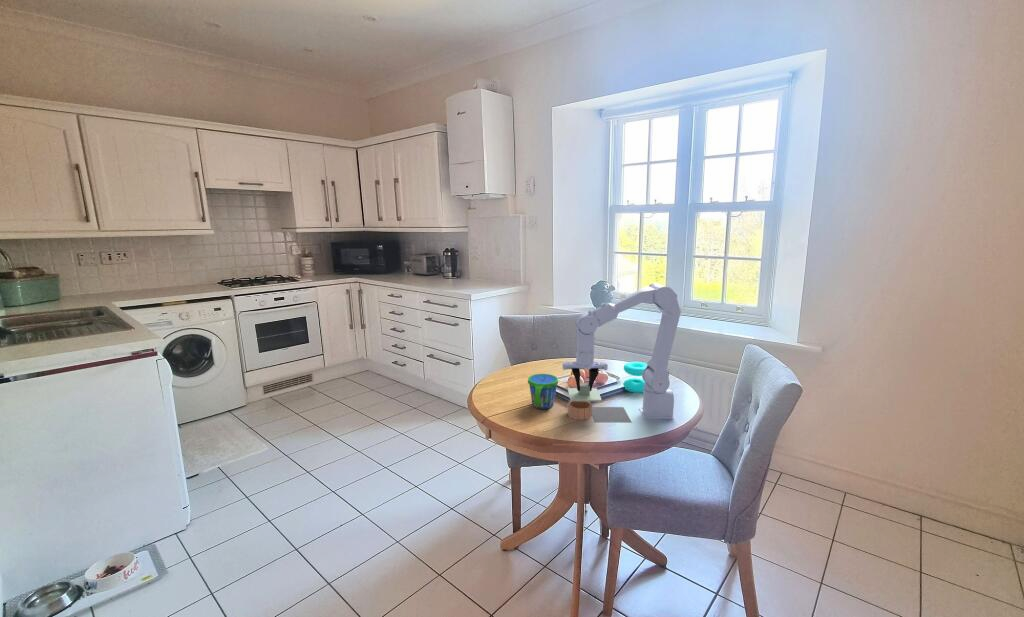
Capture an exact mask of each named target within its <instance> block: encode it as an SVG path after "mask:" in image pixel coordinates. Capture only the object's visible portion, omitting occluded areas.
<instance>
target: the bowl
mask: <svg viewBox="0 0 1024 617" xmlns="http://www.w3.org/2000/svg"><path fill="white" fill-rule="evenodd" d="M592 407H593V404H592V401H570V400H569V401H568V402H567V409H566V410H567V416H568V417H569V418H571V419H574V420H580V421H582V420H588V419H590V418H591V417H592Z"/></svg>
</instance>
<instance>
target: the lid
mask: <svg viewBox="0 0 1024 617" xmlns="http://www.w3.org/2000/svg"><path fill="white" fill-rule="evenodd" d="M567 392H568V397H569V401H589V402H602V401H603V400H602V398H601V395H600V392H599V390H598V388H597V387H594V388H593V387H592V391H590V385H589V382H580V391H578V390H577V387H575V388H574V387H570V388H569V387H567Z"/></svg>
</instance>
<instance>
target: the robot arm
mask: <svg viewBox="0 0 1024 617" xmlns="http://www.w3.org/2000/svg"><path fill="white" fill-rule="evenodd" d="M640 304H647V305H655V306H656V307H657V308H658V310H659V311H660V312H661V314H662V315H661V318H660V323H659V327H658V331H657V334H656V339H655V342H654V343H655V344H654V348H653V352H652V355H651V359H649V361H647V363H646V364H647V366H646V368H645V369H644V370H643V372H642V376H641V379H643V380H644V381H645V385H644V392H643V395H642V407H639V408H638V410H639V411H640V413H641V415H642V416H643V418H644V419H655V420H656V419H659V420H660V419H662V420H663V419H666V420H667V419H668V420H669V419H671V420H673V419H674V406H675V398H674V396H675V395H674V392H673V390H672V389H671V388H669V387H670V385H671V384H670V382H671V381H670V368H669V360H670V355H671V353H672V348H673V344H674V340H675V337H676V332H677V329H678V325H679V321H680V317H681V308H680V304H679V301H678V294H677V293H676V292H675V291H674V290H673V289H672V288H671V287H669V286H666V285H662V283H658V282H653V283H650V284H649V285H646V286H643V287H642V288H640V289H638V290H637V291H635V292H633V293H631V294H629V295H627V296H626V297H624V298H622V299H620V300H619V301H617V302H615V303H611V302H607V303H605V302H602V303H601V304H600V306H598V307H596V308H594V309H593V310H590V309H589V310H587V313H581V314H580V315H578V316H577V318H576V320H575V326H576V328H577V332H576V334H577V336H576V356H575V357H576V360H575V361H568V362H567V361H566V362H562V370H563V371H566V370H571V371H572V375H573V377H574V380H575V384H576V388H577V390H578V391H580V383H581V382H580V381H581V371H580V370H588V383H589V385H590V391H592V388H593V386H594V384H595V381H596V379H597V378H598V376H599V370H603V371H608V366H609V365H608V363H607V362H600V361H595V340H596V339H595V338H596V337H595V332H596V331H597V329H598V328H599V327H602V326H605V325H606V324H609V323H610V322H612V321H614V320H616V319H617V318H618V316H619V314H620V313H622V312H624V311H627V310H629V309H631V308H633V307H635V306H638V305H640Z"/></svg>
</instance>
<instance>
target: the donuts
mask: <svg viewBox="0 0 1024 617" xmlns="http://www.w3.org/2000/svg"><path fill="white" fill-rule="evenodd" d="M646 366H647V363H645V362H641V361H629V362H626V363H625V364H624V366H623V370H624V371H625V373H626V374H628V375H630V376H634V377H632V378H626V379H625V380H624V381H623V383H622V384H623V385H624V386H625V388H624V390H626V391H627V392H629V393H630V392H631V393H636V394H637V393H638V394H641V393H643V392H644V385H645V381H644V380H643V378H640V377H642V372H643V370H644V369H645V368H646ZM638 377H639V378H638ZM623 385H622V386H623Z"/></svg>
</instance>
